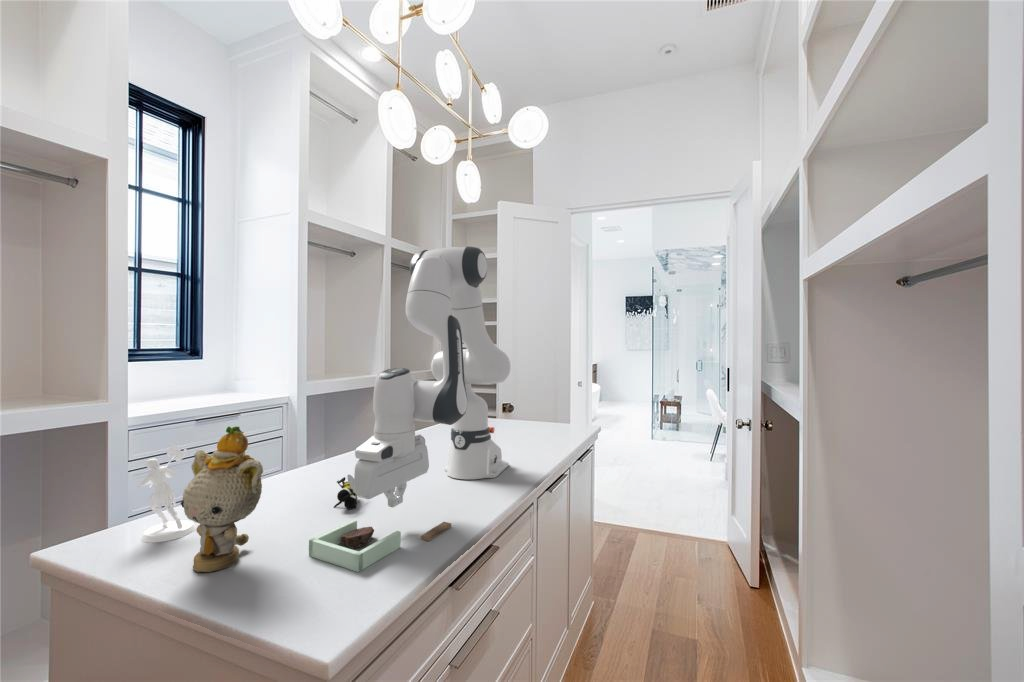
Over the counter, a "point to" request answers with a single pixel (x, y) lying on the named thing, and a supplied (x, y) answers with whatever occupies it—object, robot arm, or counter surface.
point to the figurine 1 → (164, 501)
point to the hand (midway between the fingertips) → (395, 504)
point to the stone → (358, 537)
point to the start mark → (435, 531)
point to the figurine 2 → (222, 499)
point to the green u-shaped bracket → (348, 558)
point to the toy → (347, 493)
